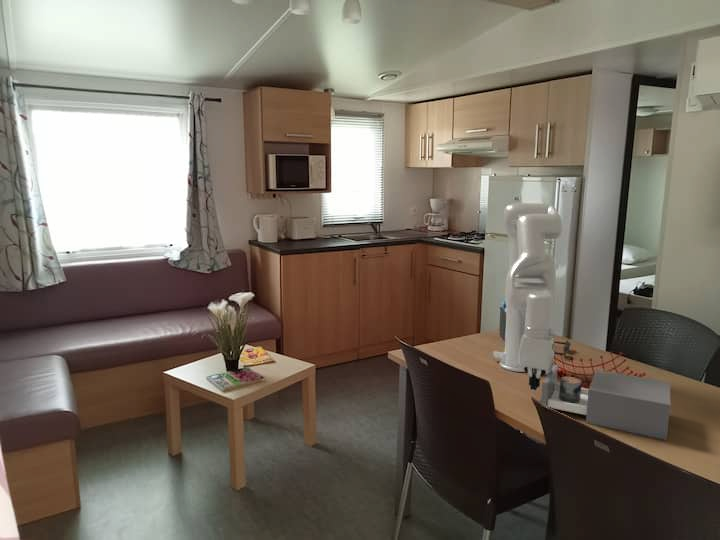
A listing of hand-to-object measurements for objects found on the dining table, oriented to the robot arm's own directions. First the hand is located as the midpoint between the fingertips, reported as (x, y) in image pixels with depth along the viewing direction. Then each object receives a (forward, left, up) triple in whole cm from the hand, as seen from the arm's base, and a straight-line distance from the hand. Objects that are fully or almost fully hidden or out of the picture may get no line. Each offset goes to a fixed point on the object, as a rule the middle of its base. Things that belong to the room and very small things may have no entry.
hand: (534, 388), depth 164 cm
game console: (-20, +56, -4) cm, 59 cm away
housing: (+26, 0, -4) cm, 27 cm away
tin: (+10, 0, -1) cm, 11 cm away
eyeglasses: (-5, +50, -4) cm, 50 cm away
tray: (+13, 0, -3) cm, 13 cm away
